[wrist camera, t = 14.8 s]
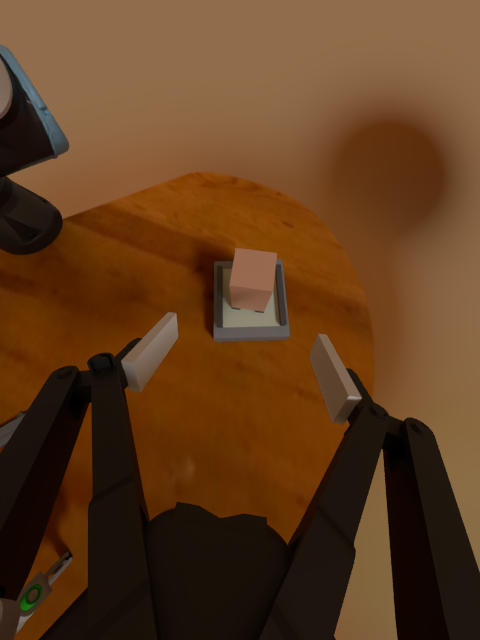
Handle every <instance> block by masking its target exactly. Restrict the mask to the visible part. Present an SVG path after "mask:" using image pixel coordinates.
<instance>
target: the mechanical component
mask: <svg viewBox="0 0 480 640" xmlns="http://www.w3.org/2000/svg"><path fill="white" fill-rule="evenodd" d="M68 556H69V551H67V552H66V553H64V555H63V556H62V557H61V558H60V559H59V560H58V561H57V562H56V563H55V564H54V565H53V566H52V567H51V568H50V569H49V570H48V571H47V572H46V574H45V575H43V574H42V572H41V571H40V572H39V573H38V574H37V575H36V576H35V577H34V578H33V579H32V580H31V581H30V582H29V583H28V584H27V585H26V586H25V587H24V588H23V589H22V590H21V592H20V595H19V597H18V599H17V603H18V604H19V606H20V613H21V614H20V619H19V624H18V627H17V630H16V633H17V632H18V631H19V630H20V629H21V627H22V626H23V625H24V623H25V622H26V620H27V619H28V618H29V617H30V616H31V615H32V614H33V613H34V612H35V610H36V609H37V608H38V607H39V606H40V605H41V603H42V602H43V601H44V600H45V599H46V597H47V596H48V595H49V594H50V593H51V592H52V588H51V587H50V585H51V584H52V583H53V582H54V580H55V579H56V578H57V577H58V576H59V575H60V574H61V572H62V571H63V570H64V569H65V568H66V567H67V566H68V564H69V563H70V562H71V561H72V558H73V557H70V558H69V560H68V561H67V560H65V559H66V558H67V557H68ZM57 566H58V567H57ZM56 567H57V568H56ZM55 568H56V569H55ZM54 569H55V570H54ZM53 570H54V571H53ZM52 571H53V572H52ZM51 572H52V574H53V573H54V574H55V575H54V576H53V577H52V578H50V579H48V577H49V575H50V574H51ZM52 574H51V575H52Z"/></svg>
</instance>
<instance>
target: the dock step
mask: <svg viewBox="0 0 480 640" xmlns="http://www.w3.org/2000/svg"><path fill="white" fill-rule="evenodd" d="M232 267H233V261H214V340H215V341H216V342H224V341H257V340H285V339H287V338H288V337H290V331H289V322H288V312H287V302H286V293H285V283H284V273H283V264H282V260H276V269H275V279H274V288H273V293H272V295H271V297H270V300H269V302H268V304H267V307H266V309H265V311H264V313H258V312H255V310H249V309H241V310H236V309H232V304H231V296H230V287H229V284H230V279H231V273H232Z"/></svg>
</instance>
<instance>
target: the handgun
mask: <svg viewBox="0 0 480 640" xmlns="http://www.w3.org/2000/svg"><path fill="white" fill-rule="evenodd" d="M25 414H26V413H25V412H23V413H19V416H17V418H16V419H14V420H12V421H10V422H9V423H7V424H5V425H4V426H2V427H0V448H1V447H2V446H3V445H5V444H7V442H8V441H9V439H10V438H11V436H12V434H13V433H14V431H15V430H16V428H17V427H18V425H19V423H20V422H21V420H22V419H23V417H24V416H25Z"/></svg>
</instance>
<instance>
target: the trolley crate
mask: <svg viewBox="0 0 480 640" xmlns="http://www.w3.org/2000/svg"><path fill="white" fill-rule="evenodd" d="M276 260H277V253H272V252H264V251H256V250H248V249H241V248H236V250H235V256H234V261H233V267H232V273H231V279H230V284H229V287H230V296H231V304H232V309H236V310H241V309H249V310H255V312H258V313H264V311H265V309H266V307H267V304H268V302H269V300H270V297H271V295H272V293H273V288H274V279H275V269H276Z"/></svg>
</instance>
